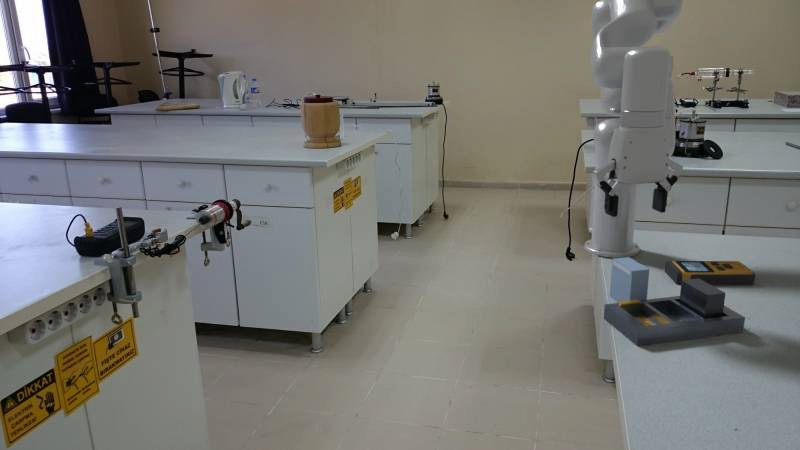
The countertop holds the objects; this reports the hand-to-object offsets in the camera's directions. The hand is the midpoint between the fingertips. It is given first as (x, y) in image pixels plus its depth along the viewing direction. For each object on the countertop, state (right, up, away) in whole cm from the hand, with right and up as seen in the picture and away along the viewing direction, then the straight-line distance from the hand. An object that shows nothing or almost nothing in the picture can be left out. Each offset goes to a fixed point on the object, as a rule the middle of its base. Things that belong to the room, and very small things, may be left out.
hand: (634, 212), depth 114 cm
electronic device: (+22, -14, +16) cm, 31 cm away
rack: (+5, -20, -5) cm, 21 cm away
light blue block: (+1, -17, +5) cm, 18 cm away
